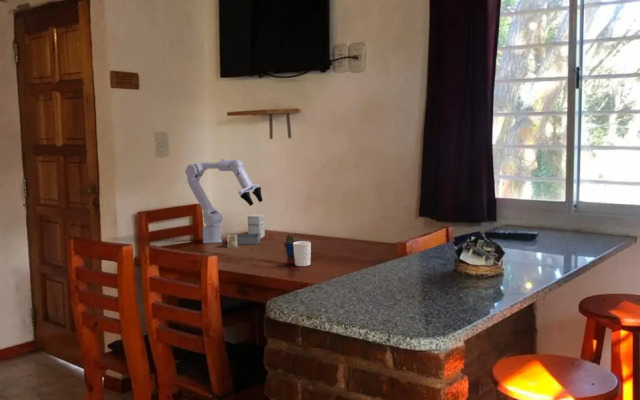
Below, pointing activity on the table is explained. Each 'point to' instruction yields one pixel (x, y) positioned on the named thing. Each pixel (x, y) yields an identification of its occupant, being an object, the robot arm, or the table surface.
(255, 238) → the serving tray
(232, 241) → the birch block
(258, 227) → the supplement box
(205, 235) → the robot arm
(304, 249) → the white cup
